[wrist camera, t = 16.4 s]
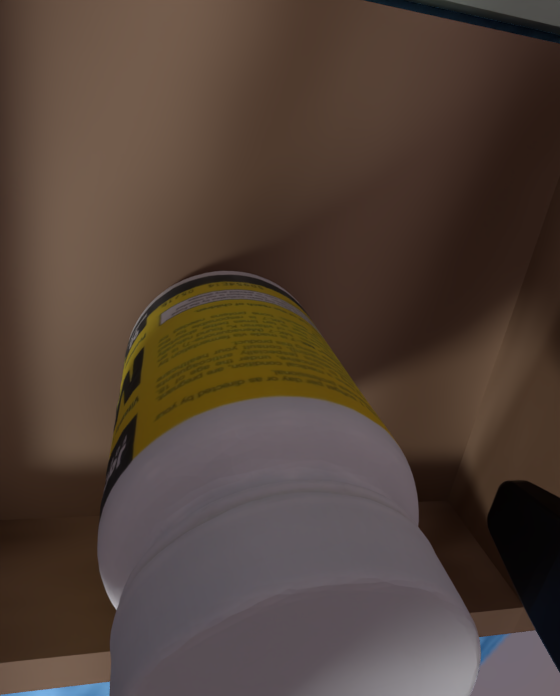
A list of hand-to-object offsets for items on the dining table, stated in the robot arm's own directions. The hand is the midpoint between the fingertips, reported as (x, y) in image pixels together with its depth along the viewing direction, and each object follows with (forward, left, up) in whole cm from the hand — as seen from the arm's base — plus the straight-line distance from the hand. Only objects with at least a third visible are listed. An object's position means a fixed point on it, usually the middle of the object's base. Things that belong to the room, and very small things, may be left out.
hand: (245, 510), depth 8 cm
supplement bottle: (0, 0, -6) cm, 6 cm away
